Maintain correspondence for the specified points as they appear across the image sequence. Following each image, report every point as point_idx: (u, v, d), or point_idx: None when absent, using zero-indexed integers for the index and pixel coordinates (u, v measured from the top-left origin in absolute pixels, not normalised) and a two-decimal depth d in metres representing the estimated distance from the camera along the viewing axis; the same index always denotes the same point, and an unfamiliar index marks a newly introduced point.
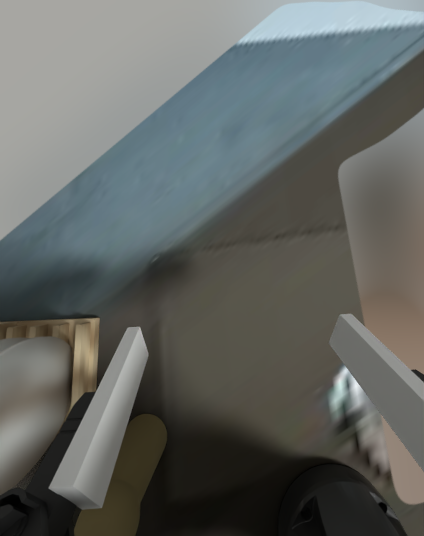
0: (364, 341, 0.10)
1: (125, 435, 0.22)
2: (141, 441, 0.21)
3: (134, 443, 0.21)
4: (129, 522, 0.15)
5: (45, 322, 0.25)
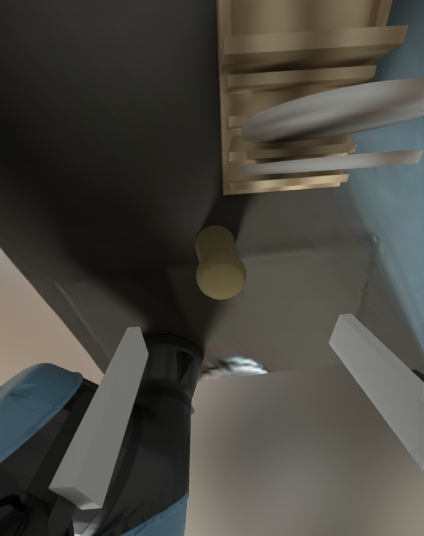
0: (364, 341, 0.10)
1: (230, 238, 0.24)
2: None
3: None
4: None
5: None
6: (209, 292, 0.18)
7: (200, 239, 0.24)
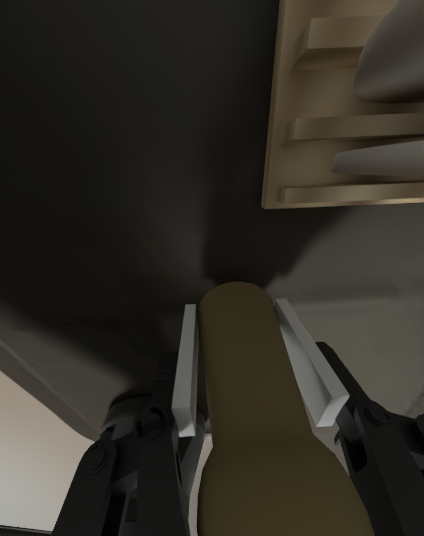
0: (287, 319, 0.11)
1: (274, 318, 0.11)
2: None
3: None
4: None
5: None
6: None
7: (208, 319, 0.11)
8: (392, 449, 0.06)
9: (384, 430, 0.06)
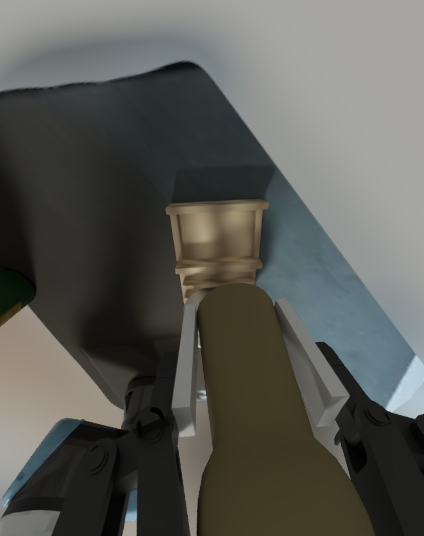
0: (287, 320, 0.11)
1: (275, 320, 0.11)
2: None
3: None
4: None
5: (254, 278, 0.36)
6: None
7: (208, 320, 0.11)
8: (392, 449, 0.06)
9: (384, 430, 0.06)
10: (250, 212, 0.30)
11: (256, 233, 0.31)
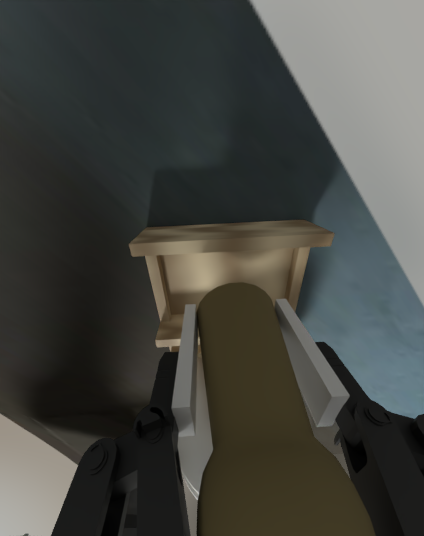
0: (287, 319, 0.11)
1: (275, 319, 0.11)
2: None
3: None
4: None
5: None
6: None
7: (208, 320, 0.11)
8: (392, 449, 0.06)
9: (384, 430, 0.06)
10: None
11: (295, 278, 0.18)
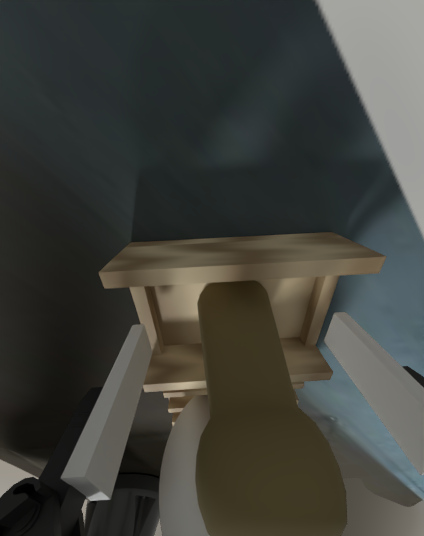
0: (357, 338, 0.10)
1: (269, 309, 0.12)
2: None
3: None
4: None
5: None
6: None
7: (208, 309, 0.12)
8: None
9: None
10: None
11: (320, 305, 0.14)
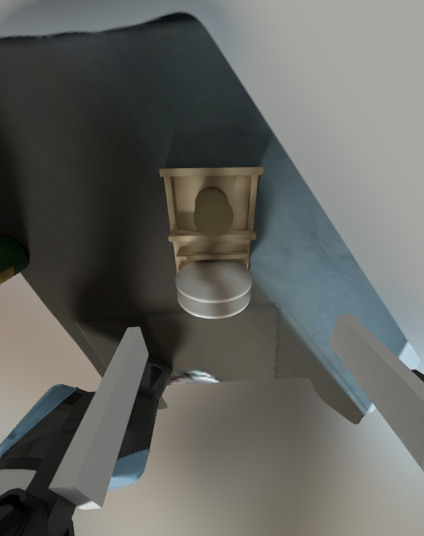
0: (364, 341, 0.10)
1: (224, 196, 0.28)
2: None
3: None
4: (220, 235, 0.23)
5: (248, 252, 0.36)
6: (203, 228, 0.22)
7: (199, 196, 0.28)
8: None
9: None
10: (245, 181, 0.30)
11: (251, 203, 0.30)
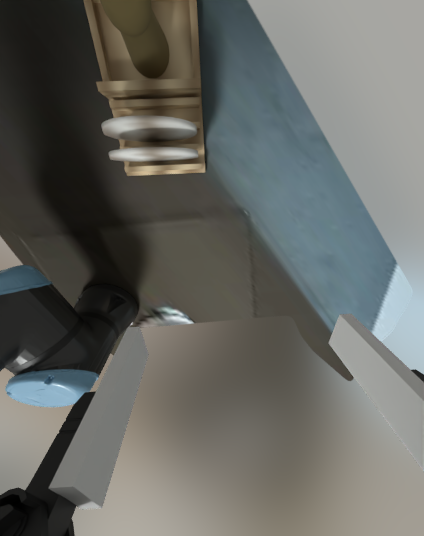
0: (364, 341, 0.10)
1: None
2: (160, 41, 0.24)
3: (159, 32, 0.23)
4: (136, 22, 0.19)
5: (201, 126, 0.31)
6: None
7: None
8: None
9: None
10: (184, 12, 0.25)
11: (193, 42, 0.26)
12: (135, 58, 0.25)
